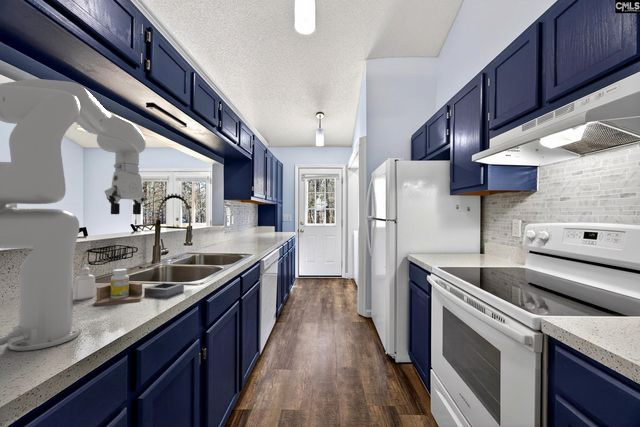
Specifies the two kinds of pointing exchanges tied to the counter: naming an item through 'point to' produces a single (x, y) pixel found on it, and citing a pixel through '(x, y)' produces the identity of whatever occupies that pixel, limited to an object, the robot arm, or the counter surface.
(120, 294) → the supplement bottle
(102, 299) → the v block
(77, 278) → the eye dropper bottle
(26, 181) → the robot arm
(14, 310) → the counter surface
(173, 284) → the socket block
